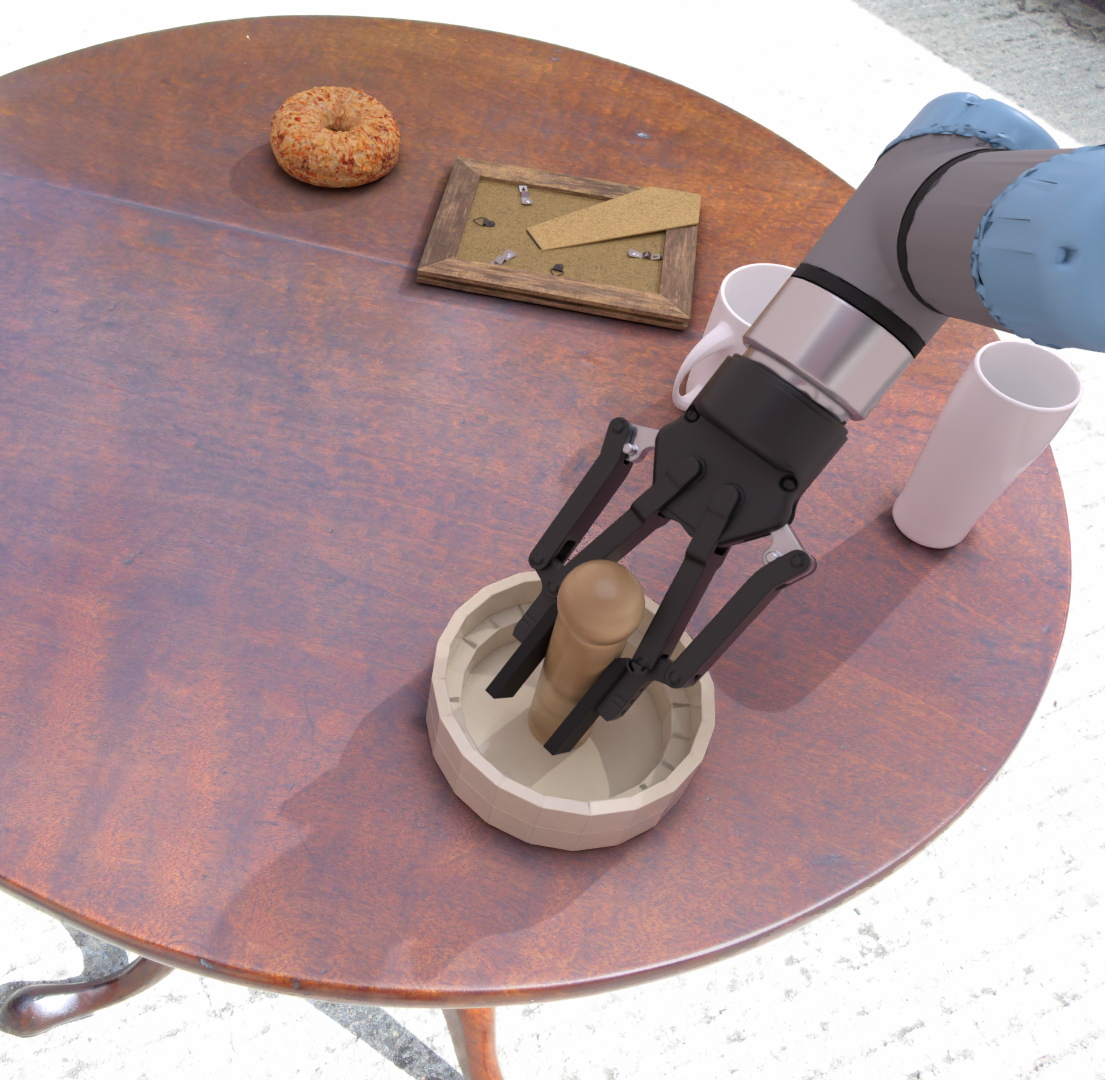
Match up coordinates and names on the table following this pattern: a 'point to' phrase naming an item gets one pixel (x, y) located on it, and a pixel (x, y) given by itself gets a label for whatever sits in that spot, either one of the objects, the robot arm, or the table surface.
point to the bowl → (521, 760)
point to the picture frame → (565, 242)
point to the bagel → (334, 137)
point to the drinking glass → (985, 439)
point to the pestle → (584, 639)
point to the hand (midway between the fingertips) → (527, 720)
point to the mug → (729, 324)
